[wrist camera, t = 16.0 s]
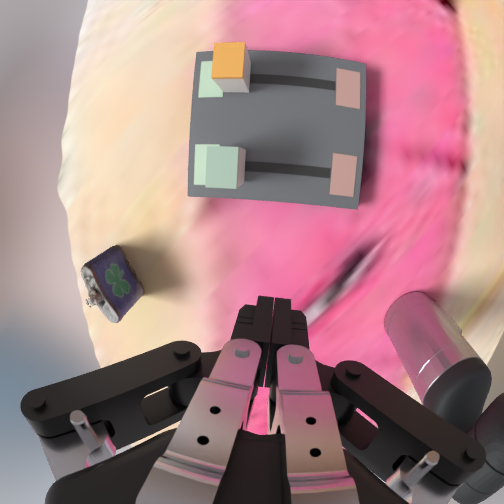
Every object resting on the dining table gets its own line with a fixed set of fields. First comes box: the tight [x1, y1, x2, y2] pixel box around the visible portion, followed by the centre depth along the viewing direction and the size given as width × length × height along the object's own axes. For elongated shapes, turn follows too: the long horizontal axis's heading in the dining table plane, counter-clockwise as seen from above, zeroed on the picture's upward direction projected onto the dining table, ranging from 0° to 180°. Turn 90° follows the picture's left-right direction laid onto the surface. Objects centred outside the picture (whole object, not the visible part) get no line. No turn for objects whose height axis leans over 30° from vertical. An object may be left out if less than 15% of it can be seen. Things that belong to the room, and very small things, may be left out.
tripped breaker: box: [211, 42, 251, 93], centre depth 25 cm, size 3×4×7 cm
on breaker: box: [205, 146, 246, 189], centre depth 29 cm, size 3×4×7 cm
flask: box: [81, 245, 144, 323], centre depth 36 cm, size 9×3×11 cm, turn 25°
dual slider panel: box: [188, 50, 366, 210], centre depth 31 cm, size 21×19×3 cm
